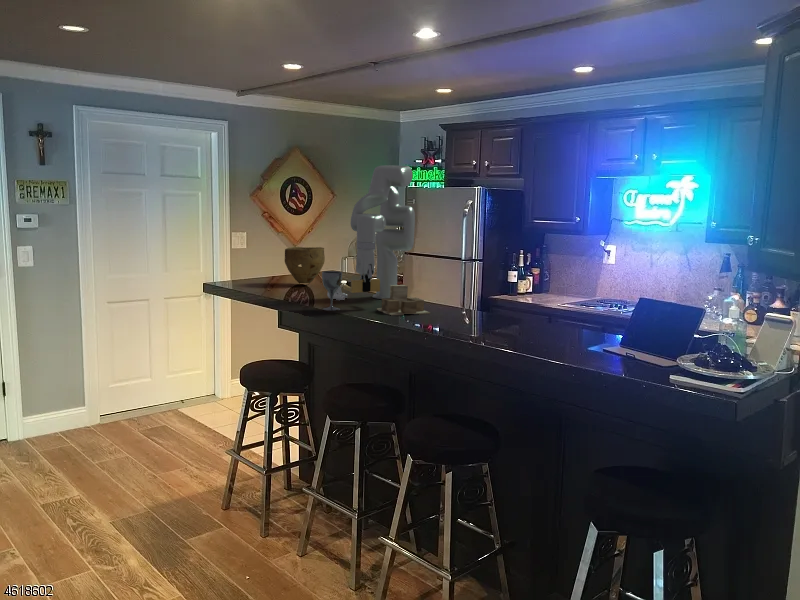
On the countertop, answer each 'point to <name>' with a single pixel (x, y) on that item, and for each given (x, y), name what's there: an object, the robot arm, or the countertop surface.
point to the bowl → (304, 262)
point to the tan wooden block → (358, 286)
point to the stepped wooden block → (401, 302)
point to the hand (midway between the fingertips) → (365, 291)
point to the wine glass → (331, 285)
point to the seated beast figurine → (338, 295)
